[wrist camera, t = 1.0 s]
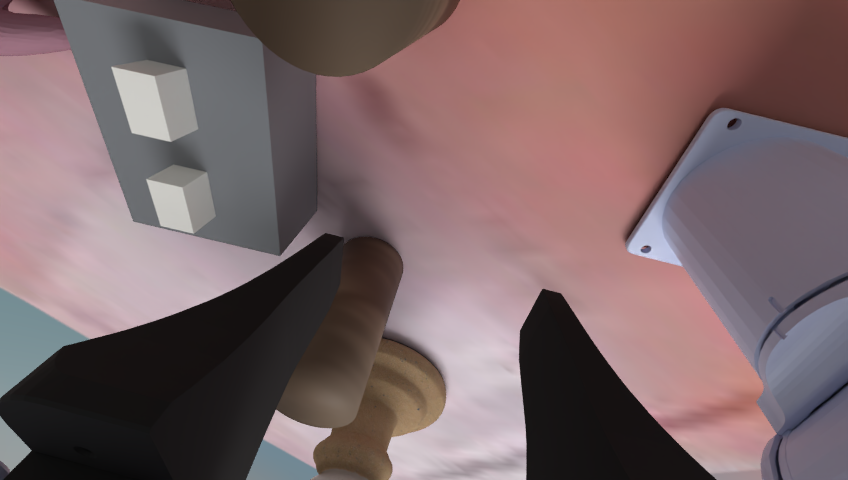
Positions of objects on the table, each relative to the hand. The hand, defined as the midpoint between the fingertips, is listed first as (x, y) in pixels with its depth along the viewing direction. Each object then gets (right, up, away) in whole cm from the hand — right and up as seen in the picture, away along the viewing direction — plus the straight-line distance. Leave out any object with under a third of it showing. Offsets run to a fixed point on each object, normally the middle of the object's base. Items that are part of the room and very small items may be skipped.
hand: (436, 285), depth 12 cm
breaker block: (-10, +8, +8) cm, 15 cm away
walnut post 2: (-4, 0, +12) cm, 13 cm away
